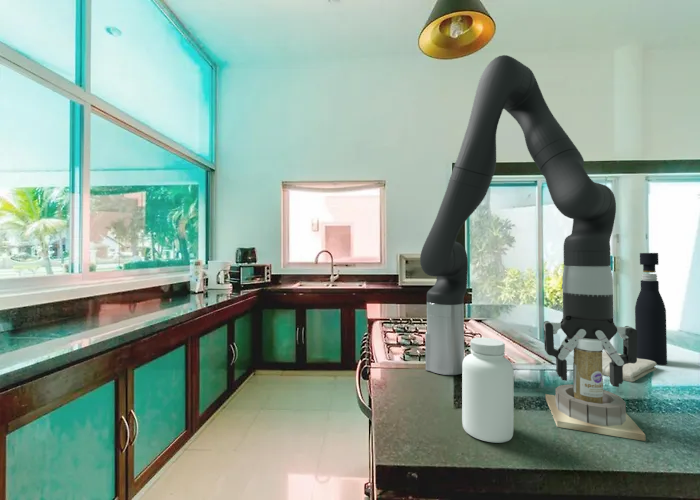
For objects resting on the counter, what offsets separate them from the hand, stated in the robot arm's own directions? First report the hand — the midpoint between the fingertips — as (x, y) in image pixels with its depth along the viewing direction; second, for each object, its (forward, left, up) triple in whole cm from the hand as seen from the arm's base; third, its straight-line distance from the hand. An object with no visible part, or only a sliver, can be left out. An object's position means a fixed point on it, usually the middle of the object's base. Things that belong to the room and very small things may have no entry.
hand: (588, 382), depth 61 cm
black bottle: (+25, +45, -7) cm, 52 cm away
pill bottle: (-17, -12, -7) cm, 22 cm away
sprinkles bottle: (0, 0, -6) cm, 6 cm away
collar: (0, 0, -6) cm, 6 cm away
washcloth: (+14, +34, -7) cm, 38 cm away
